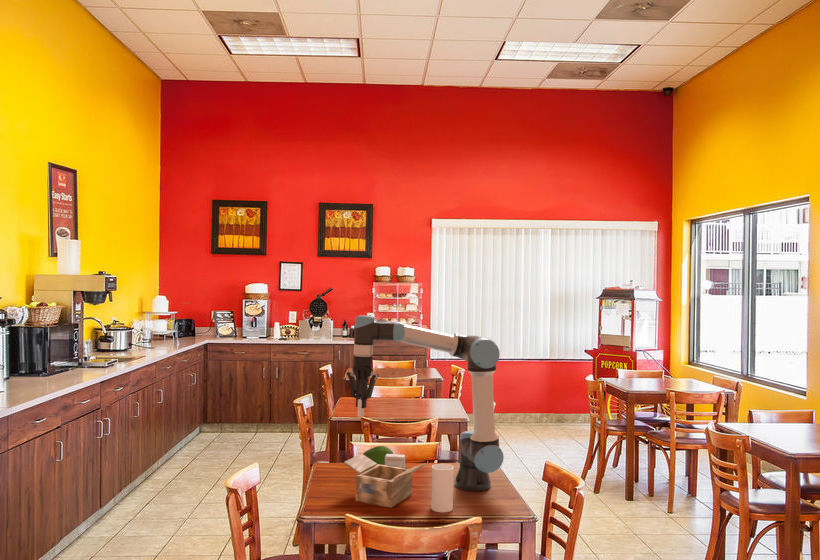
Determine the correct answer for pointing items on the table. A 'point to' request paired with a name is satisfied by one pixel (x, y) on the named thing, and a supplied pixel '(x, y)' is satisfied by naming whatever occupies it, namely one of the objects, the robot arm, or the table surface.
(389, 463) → the ink box
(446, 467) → the cup
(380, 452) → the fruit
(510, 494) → the table surface
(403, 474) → the flap
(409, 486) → the wooden box
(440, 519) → the table surface
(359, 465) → the flap
